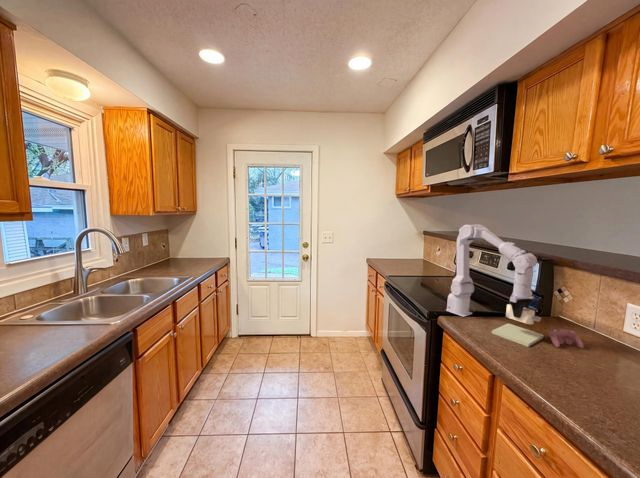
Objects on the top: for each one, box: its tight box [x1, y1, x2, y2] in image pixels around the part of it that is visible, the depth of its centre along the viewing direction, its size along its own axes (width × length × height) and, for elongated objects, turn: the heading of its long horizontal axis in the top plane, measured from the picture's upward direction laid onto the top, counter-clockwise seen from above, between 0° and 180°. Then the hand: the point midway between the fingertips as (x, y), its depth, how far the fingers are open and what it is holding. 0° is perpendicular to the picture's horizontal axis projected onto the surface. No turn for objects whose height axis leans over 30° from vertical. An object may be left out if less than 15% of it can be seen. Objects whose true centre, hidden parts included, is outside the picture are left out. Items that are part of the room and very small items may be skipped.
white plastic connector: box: [505, 303, 542, 325], centre depth 112 cm, size 12×4×5 cm, turn 33°
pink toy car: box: [548, 328, 585, 350], centre depth 107 cm, size 10×5×7 cm, turn 85°
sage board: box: [491, 322, 545, 348], centre depth 114 cm, size 13×14×1 cm
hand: (519, 316), depth 113 cm, fingers closed on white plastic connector, 4 cm apart
